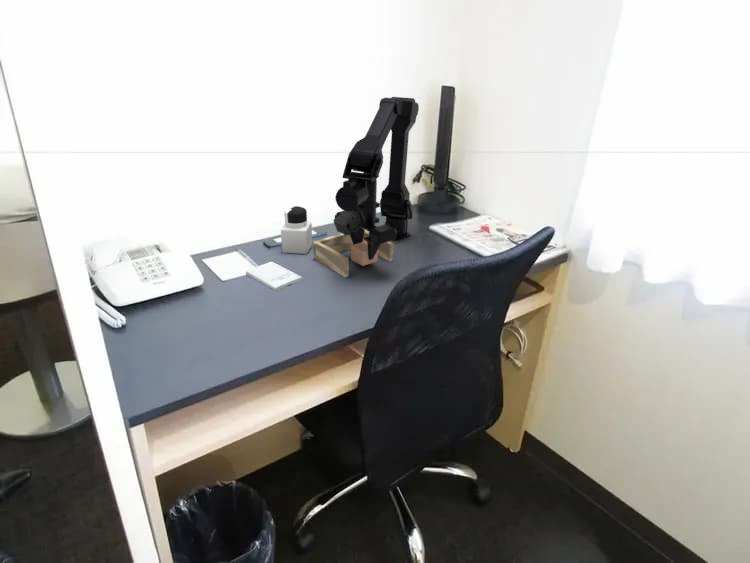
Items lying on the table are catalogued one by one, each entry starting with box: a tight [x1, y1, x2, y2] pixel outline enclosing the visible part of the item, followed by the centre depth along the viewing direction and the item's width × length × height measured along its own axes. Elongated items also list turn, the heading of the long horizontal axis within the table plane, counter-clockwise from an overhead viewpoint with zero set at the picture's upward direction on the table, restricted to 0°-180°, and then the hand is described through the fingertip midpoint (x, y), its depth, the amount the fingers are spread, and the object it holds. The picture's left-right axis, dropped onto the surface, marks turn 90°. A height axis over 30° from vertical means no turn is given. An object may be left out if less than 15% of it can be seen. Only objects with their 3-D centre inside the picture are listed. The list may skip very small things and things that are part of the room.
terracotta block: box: [350, 241, 379, 267], centre depth 126 cm, size 5×5×4 cm
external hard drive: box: [245, 261, 303, 292], centre depth 121 cm, size 2×8×12 cm
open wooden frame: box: [312, 230, 394, 278], centre depth 130 cm, size 16×14×5 cm
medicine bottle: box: [280, 205, 313, 255], centre depth 134 cm, size 7×7×12 cm
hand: (364, 255), depth 127 cm, fingers closed on terracotta block, 5 cm apart
